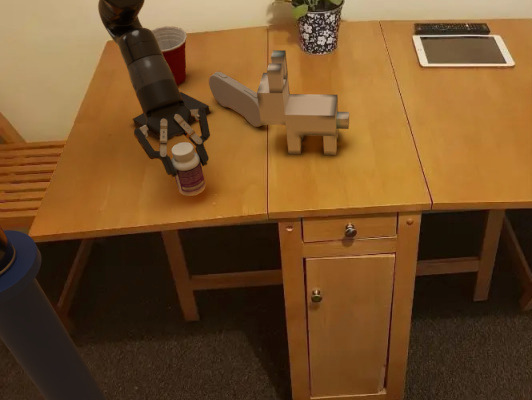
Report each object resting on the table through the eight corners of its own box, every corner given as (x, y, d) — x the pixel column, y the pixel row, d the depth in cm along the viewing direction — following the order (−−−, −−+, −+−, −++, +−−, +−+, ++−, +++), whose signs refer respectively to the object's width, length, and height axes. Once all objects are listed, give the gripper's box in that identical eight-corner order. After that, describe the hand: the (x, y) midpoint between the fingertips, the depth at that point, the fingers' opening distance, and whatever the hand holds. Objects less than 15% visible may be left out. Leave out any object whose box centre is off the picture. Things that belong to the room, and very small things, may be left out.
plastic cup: (150, 94, 142) (137, 49, 134) (155, 71, 150) (143, 28, 141) (194, 90, 142) (184, 45, 134) (197, 67, 150) (188, 24, 142)
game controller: (271, 128, 129) (267, 96, 124) (263, 132, 128) (259, 101, 122) (219, 95, 140) (213, 65, 134) (211, 99, 139) (205, 69, 133)
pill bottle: (212, 184, 113) (203, 145, 106) (193, 200, 110) (183, 161, 103) (191, 175, 115) (181, 136, 109) (172, 190, 112) (161, 151, 106)
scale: (161, 143, 127) (158, 130, 125) (133, 126, 132) (129, 113, 130) (211, 113, 135) (208, 100, 132) (182, 98, 140) (179, 85, 137)
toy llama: (348, 155, 121) (346, 70, 107) (265, 153, 123) (253, 70, 109) (350, 134, 126) (349, 50, 113) (270, 132, 128) (260, 50, 115)
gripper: (189, 80, 113) (222, 161, 113) (116, 103, 108) (151, 187, 109) (194, 68, 106) (229, 154, 106) (116, 91, 101) (153, 181, 102)
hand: (189, 170), depth 108 cm, fingers closed on pill bottle, 5 cm apart
